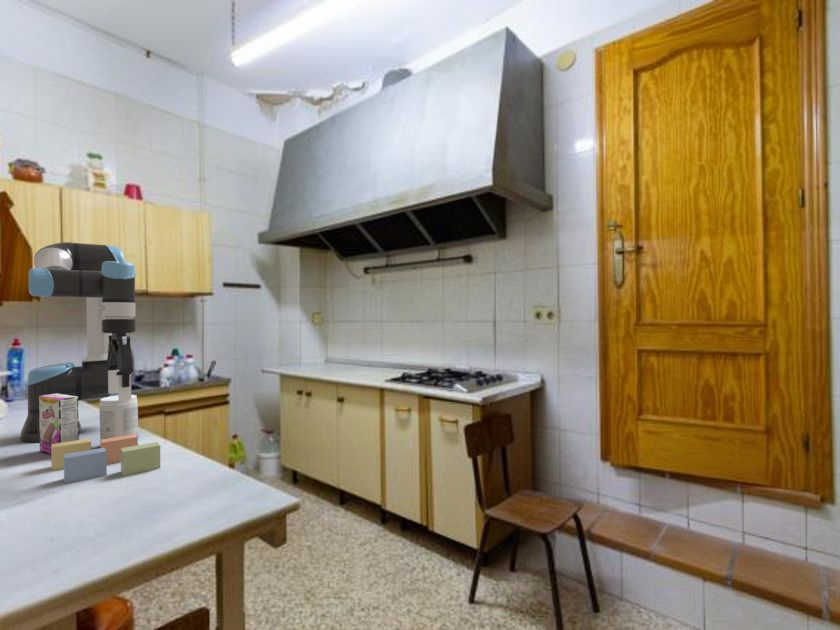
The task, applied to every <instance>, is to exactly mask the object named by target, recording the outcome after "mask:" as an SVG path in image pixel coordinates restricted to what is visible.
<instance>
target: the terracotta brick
mask: <svg viewBox="0 0 840 630" xmlns="http://www.w3.org/2000/svg"><path fill="white" fill-rule="evenodd" d="M138 438H139V437H137V436H136V435H135V434H132V435H126V436H120V437H113V438H107V439H101V440H99V447H100V448H105V450H106V460H107V465H109V463H111V464H115V463H114V462H116V463H119V462H118V461H121V448H125V447H131V446H137V445H139V444H138V442H139V440H138Z"/></svg>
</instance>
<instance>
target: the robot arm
mask: <svg viewBox="0 0 840 630" xmlns="http://www.w3.org/2000/svg"><path fill="white" fill-rule="evenodd" d="M33 264H34V267H31V268H30V269H29V270H28V293H29V295H31V296H33V297H44V298H86V345H87V346H86V349H87V350H86V351H87V354H86V356H85V357H84V358H83V359H82V360H81V365H80V366H75V364H74V362H64V363H63V362H62V363H55V364H50V365H43V366H38V367H35V368H32V369H31V370H30V371H29V372H28V374H27V383H26V386H27V416H26V419H25V422H24V424H23V426H22V429H21V431H20V441H21V442H24V443H25V442H26V443H37V442H38V443H40V422H39V396H42V395H49V394H57V393H58V394H64V395H71V396H77V397H78V402H80V401H89V400H90V401H91V400H100V399H102V398H105V397H110V396H117V395H118V400H127V399H131V395H132V373H134V366H133V365H134V364H133V356H132V348H131V347H132V346H131V337H130V336H128V335H127V334H128V333H130V334H131V333H135V332H136V320H135V319H134V318H135V317H136V275H137V274H136V269H135V267H136V266H135V265H134V263H132V262H130V261H126V259H125V255H124V252H123V250H122V249H121V248H120V247H118V246H116V245H115V246H114V245H108V244H93V243H92V244H90V243H78V242H70V241H69V242H57V243H56V242H55V243H52V244H48V245H46V246H43V247H41V248H40V249H39V250H37V251H36V253H35V254H34V256H33ZM79 420H80V419H78V426H79V434H80V433H82V425H81V423H80V421H79Z"/></svg>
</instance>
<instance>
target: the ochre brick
mask: <svg viewBox="0 0 840 630" xmlns="http://www.w3.org/2000/svg"><path fill="white" fill-rule="evenodd" d="M87 450H92V440H91V439H90V437H89V438H83V439H79V440H76V441H69V442H63V443H56V444H51V454H50V457H51V458H50V460H51V462H50V463H51V464H50V465H51V466H50V467H51V471H52V470H54V471H57V470H56V469H60V470H63V469H62V468H64V454H70V453H76V452H82V451H87Z"/></svg>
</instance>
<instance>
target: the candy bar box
mask: <svg viewBox="0 0 840 630" xmlns="http://www.w3.org/2000/svg"><path fill="white" fill-rule="evenodd" d="M78 420H79V401H78V397H77V396H71V395H64V394H58V393H57V394H49V395H42V396H39V422H40V442H39V452H40V453H45V454H49V455H51V444H56V443H63V442H69V441H76V440H80V439H79V437H80V435H79V434H80V433H79V426H78Z"/></svg>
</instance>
